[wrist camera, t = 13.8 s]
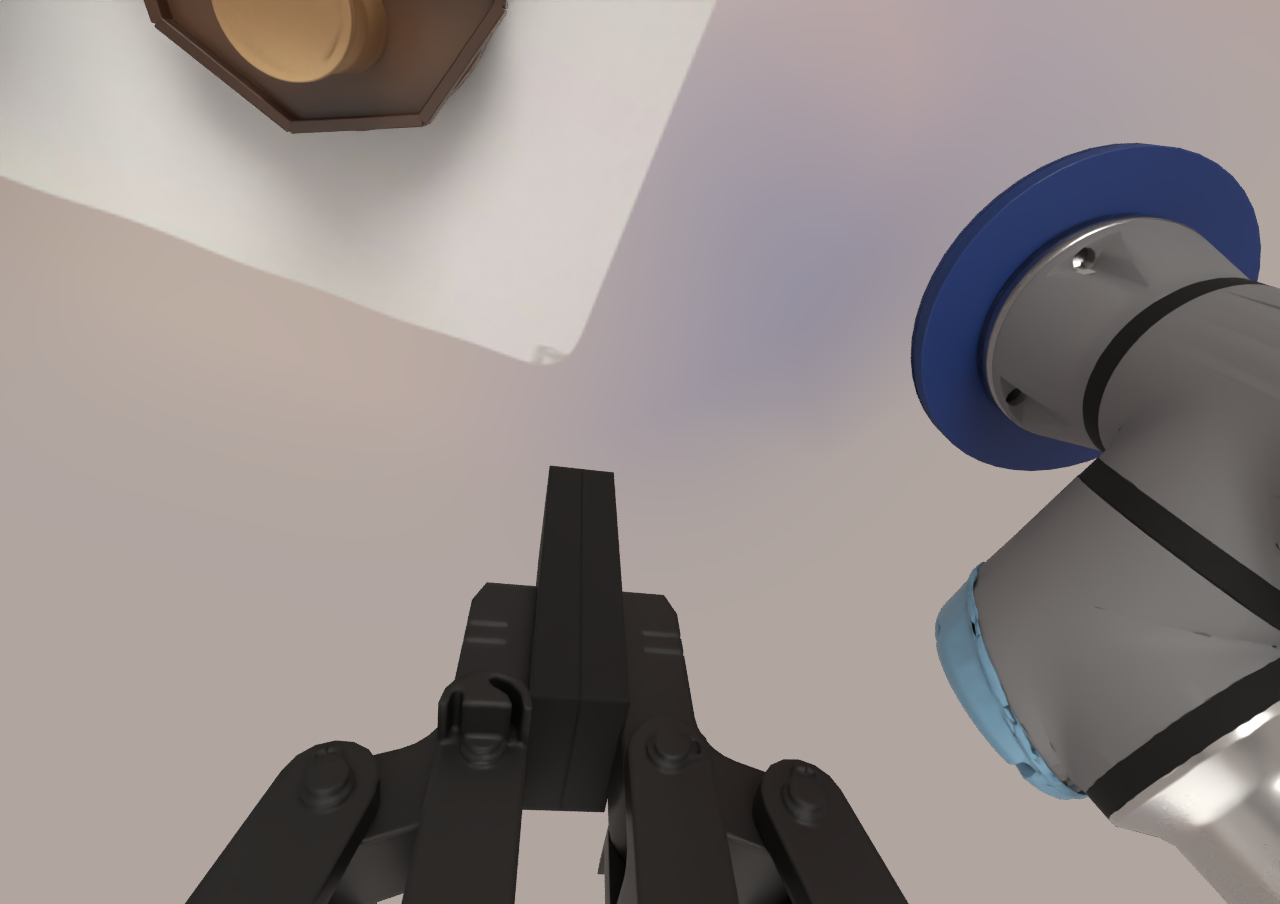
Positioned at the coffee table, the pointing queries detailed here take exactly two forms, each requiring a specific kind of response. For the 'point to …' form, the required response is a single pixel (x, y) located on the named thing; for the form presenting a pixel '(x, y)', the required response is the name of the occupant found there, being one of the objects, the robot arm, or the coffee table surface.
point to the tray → (342, 100)
